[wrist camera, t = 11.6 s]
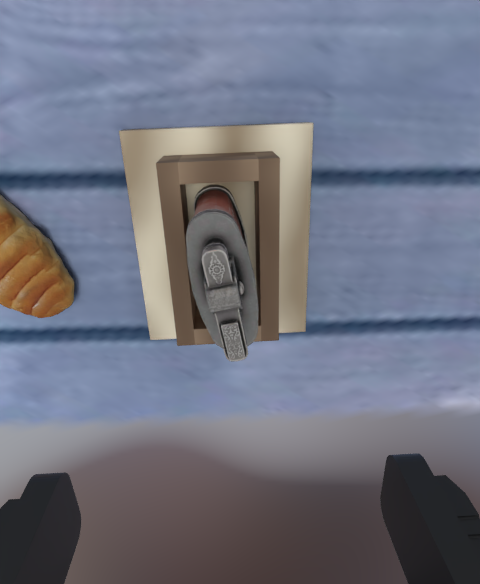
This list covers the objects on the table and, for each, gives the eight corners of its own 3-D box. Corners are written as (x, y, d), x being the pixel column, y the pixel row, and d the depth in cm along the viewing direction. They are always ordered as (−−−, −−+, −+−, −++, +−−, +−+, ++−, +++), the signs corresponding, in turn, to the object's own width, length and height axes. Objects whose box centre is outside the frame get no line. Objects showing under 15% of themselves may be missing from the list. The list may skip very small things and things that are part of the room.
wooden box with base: (309, 122, 26) (326, 126, 22) (302, 323, 33) (314, 356, 28) (123, 129, 26) (104, 135, 22) (152, 332, 32) (142, 366, 28)
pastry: (101, 272, 30) (86, 295, 27) (45, 326, 32) (24, 353, 29) (-9, 177, 27) (-43, 189, 24) (-65, 243, 29) (-104, 262, 25)
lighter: (185, 190, 27) (167, 235, 18) (235, 179, 26) (244, 219, 17) (211, 298, 30) (208, 382, 21) (256, 289, 30) (273, 370, 21)
